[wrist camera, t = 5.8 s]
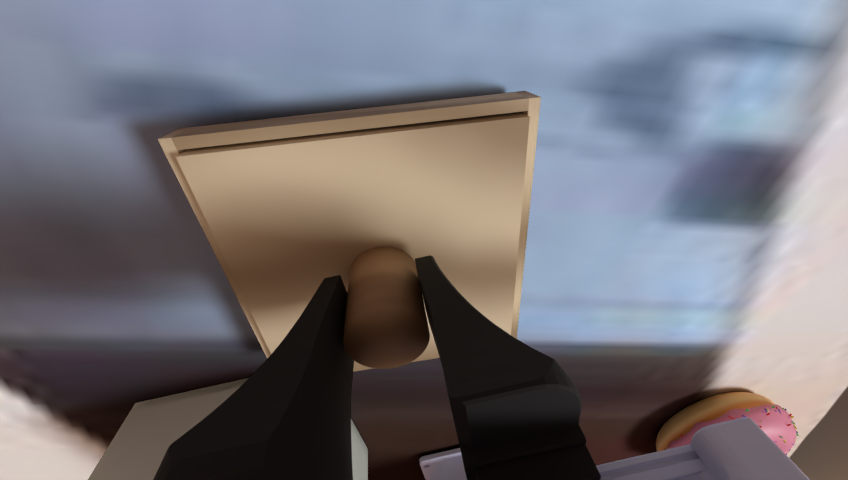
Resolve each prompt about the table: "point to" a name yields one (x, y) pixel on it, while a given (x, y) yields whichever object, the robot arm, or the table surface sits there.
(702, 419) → the doughnut
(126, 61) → the table surface
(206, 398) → the storage box
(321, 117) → the lid
